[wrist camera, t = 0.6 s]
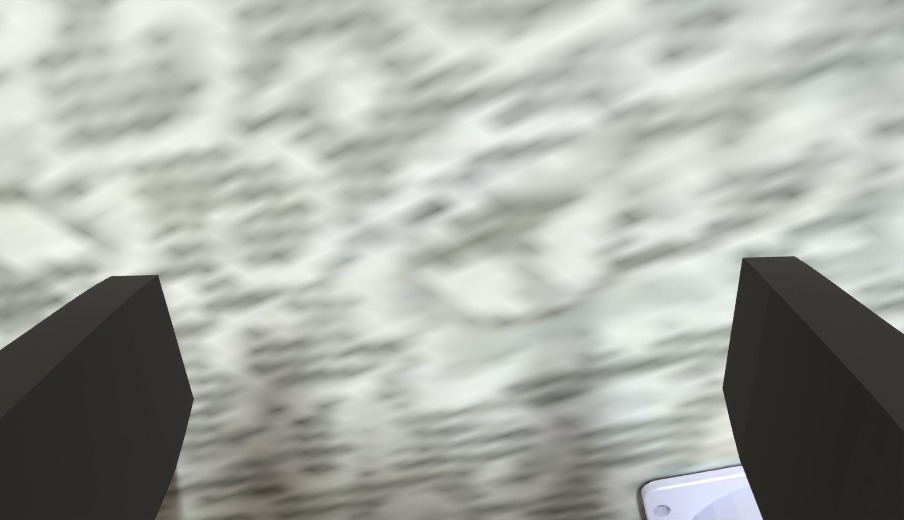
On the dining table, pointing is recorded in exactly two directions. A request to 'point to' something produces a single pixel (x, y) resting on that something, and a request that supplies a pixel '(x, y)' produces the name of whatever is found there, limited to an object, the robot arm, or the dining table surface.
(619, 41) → the dining table surface
